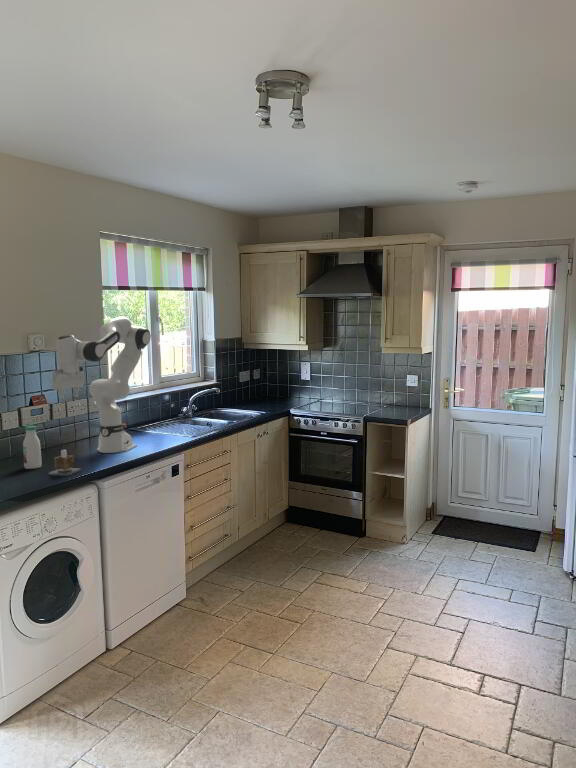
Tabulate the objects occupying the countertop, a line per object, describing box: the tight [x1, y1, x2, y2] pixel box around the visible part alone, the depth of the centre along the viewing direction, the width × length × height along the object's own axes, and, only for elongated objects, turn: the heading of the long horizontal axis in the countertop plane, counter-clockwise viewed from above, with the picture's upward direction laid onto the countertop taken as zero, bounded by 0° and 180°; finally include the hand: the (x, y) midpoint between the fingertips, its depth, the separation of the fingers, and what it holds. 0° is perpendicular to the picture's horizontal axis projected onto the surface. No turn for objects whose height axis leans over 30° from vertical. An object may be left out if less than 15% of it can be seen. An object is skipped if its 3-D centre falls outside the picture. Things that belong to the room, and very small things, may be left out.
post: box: [48, 449, 82, 477], centre depth 263 cm, size 10×10×10 cm
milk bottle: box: [22, 425, 43, 470], centre depth 275 cm, size 8×8×20 cm
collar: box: [53, 454, 75, 470], centre depth 263 cm, size 6×6×5 cm
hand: (69, 397), depth 277 cm, fingers open, 8 cm apart
